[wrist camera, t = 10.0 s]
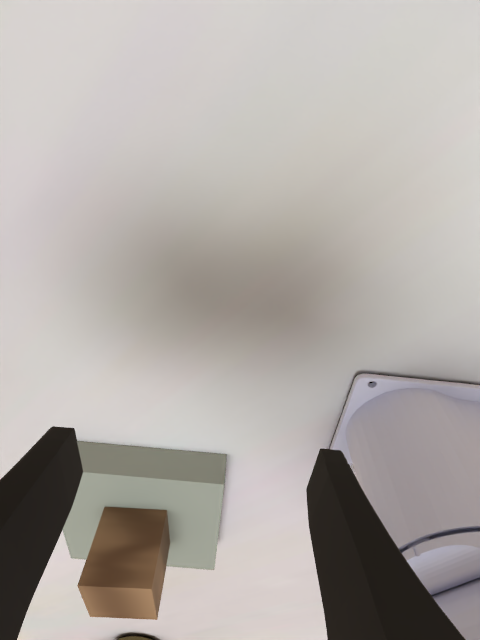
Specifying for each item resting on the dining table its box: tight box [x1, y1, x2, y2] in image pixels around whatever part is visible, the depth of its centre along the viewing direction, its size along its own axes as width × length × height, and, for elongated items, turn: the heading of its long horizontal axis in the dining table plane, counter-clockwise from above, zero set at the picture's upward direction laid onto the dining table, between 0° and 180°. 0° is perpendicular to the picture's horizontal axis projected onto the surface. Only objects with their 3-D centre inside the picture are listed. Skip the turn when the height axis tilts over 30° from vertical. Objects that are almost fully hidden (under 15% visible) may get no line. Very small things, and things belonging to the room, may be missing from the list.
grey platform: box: [63, 441, 227, 570], centre depth 29 cm, size 12×12×3 cm
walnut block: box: [78, 507, 170, 620], centre depth 26 cm, size 4×4×5 cm
